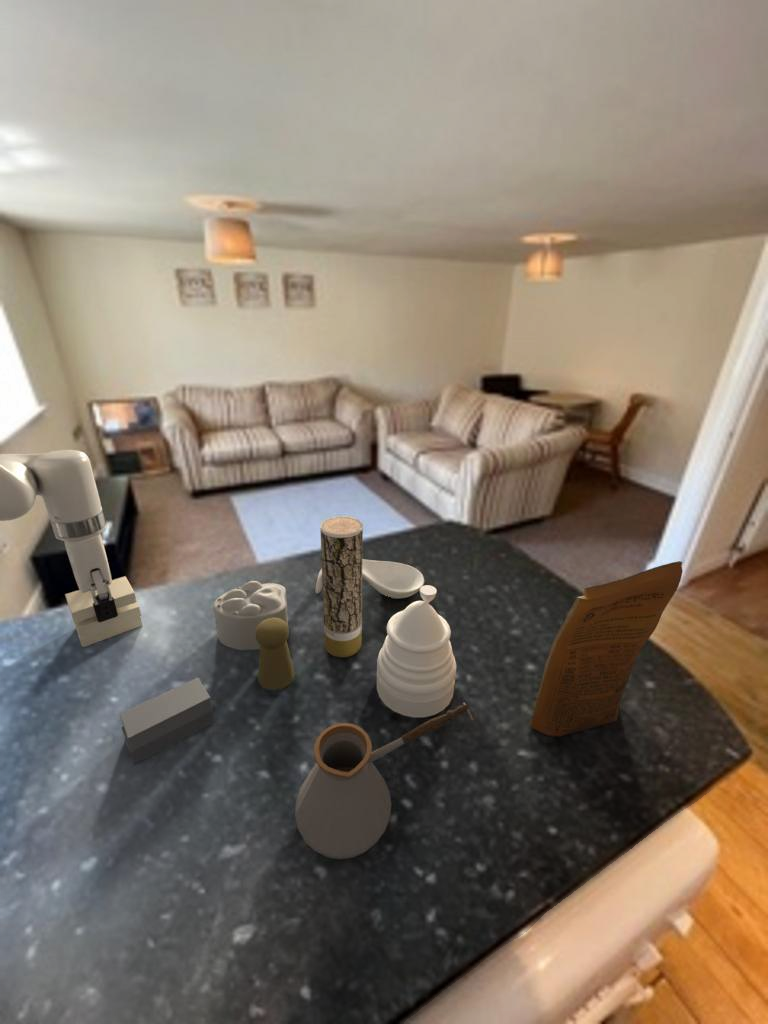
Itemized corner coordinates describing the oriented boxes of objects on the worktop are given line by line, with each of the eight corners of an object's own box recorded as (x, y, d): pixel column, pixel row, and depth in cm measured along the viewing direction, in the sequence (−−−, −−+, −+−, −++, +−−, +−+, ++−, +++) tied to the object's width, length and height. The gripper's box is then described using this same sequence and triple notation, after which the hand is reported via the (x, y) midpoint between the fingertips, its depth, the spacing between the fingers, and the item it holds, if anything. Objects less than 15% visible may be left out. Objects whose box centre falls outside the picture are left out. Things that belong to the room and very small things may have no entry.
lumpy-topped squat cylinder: (289, 645, 82) (286, 606, 79) (214, 654, 80) (208, 615, 76) (287, 610, 91) (285, 574, 88) (221, 617, 89) (215, 581, 85)
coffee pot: (302, 886, 48) (294, 798, 42) (291, 786, 58) (284, 702, 52) (480, 831, 54) (497, 746, 48) (443, 748, 64) (452, 669, 58)
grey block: (134, 764, 60) (126, 739, 58) (125, 739, 64) (117, 714, 62) (214, 721, 67) (210, 697, 65) (202, 700, 70) (198, 677, 68)
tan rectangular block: (82, 647, 80) (75, 628, 78) (75, 627, 85) (69, 608, 83) (143, 625, 86) (139, 606, 84) (134, 607, 91) (130, 589, 89)
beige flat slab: (74, 623, 78) (70, 613, 77) (68, 604, 83) (64, 594, 82) (136, 602, 84) (134, 592, 83) (127, 585, 89) (125, 576, 88)
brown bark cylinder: (339, 665, 78) (336, 539, 68) (317, 644, 83) (312, 523, 72) (369, 648, 82) (371, 526, 72) (346, 629, 87) (345, 512, 76)
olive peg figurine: (282, 657, 79) (277, 607, 75) (301, 676, 75) (298, 624, 71) (251, 675, 75) (244, 623, 71) (270, 696, 72) (264, 642, 67)
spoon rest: (420, 576, 104) (422, 549, 101) (426, 607, 94) (428, 578, 91) (319, 575, 104) (318, 548, 101) (312, 606, 93) (311, 577, 90)
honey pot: (403, 647, 83) (408, 564, 75) (466, 679, 76) (479, 591, 68) (360, 691, 73) (361, 600, 65) (428, 732, 66) (438, 636, 59)
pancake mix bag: (646, 725, 68) (707, 570, 57) (538, 755, 63) (580, 591, 52) (614, 692, 74) (663, 545, 62) (513, 716, 69) (545, 561, 57)
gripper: (46, 511, 80) (72, 593, 87) (60, 550, 68) (89, 641, 75) (94, 501, 84) (115, 580, 92) (115, 536, 72) (137, 624, 80)
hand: (103, 607), depth 84 cm, fingers closed on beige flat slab, 7 cm apart
